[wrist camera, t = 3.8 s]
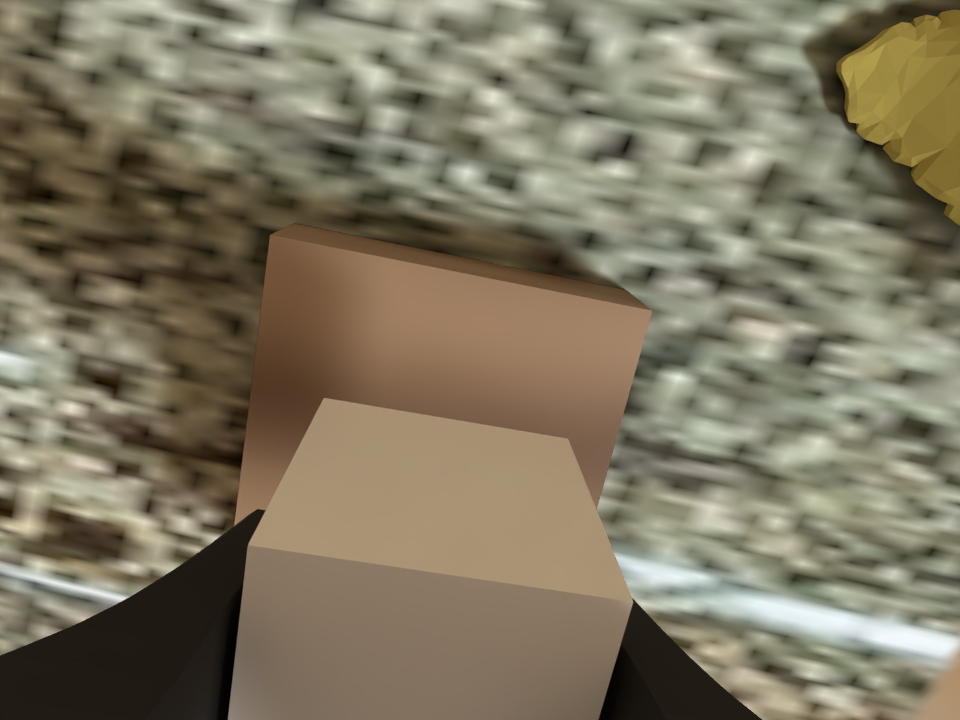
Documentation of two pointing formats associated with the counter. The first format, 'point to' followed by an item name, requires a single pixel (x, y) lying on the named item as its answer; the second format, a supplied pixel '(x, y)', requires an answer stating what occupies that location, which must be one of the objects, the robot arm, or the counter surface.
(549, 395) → the walnut block
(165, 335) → the counter surface
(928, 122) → the figurine
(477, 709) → the ceramic cube
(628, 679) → the robot arm
